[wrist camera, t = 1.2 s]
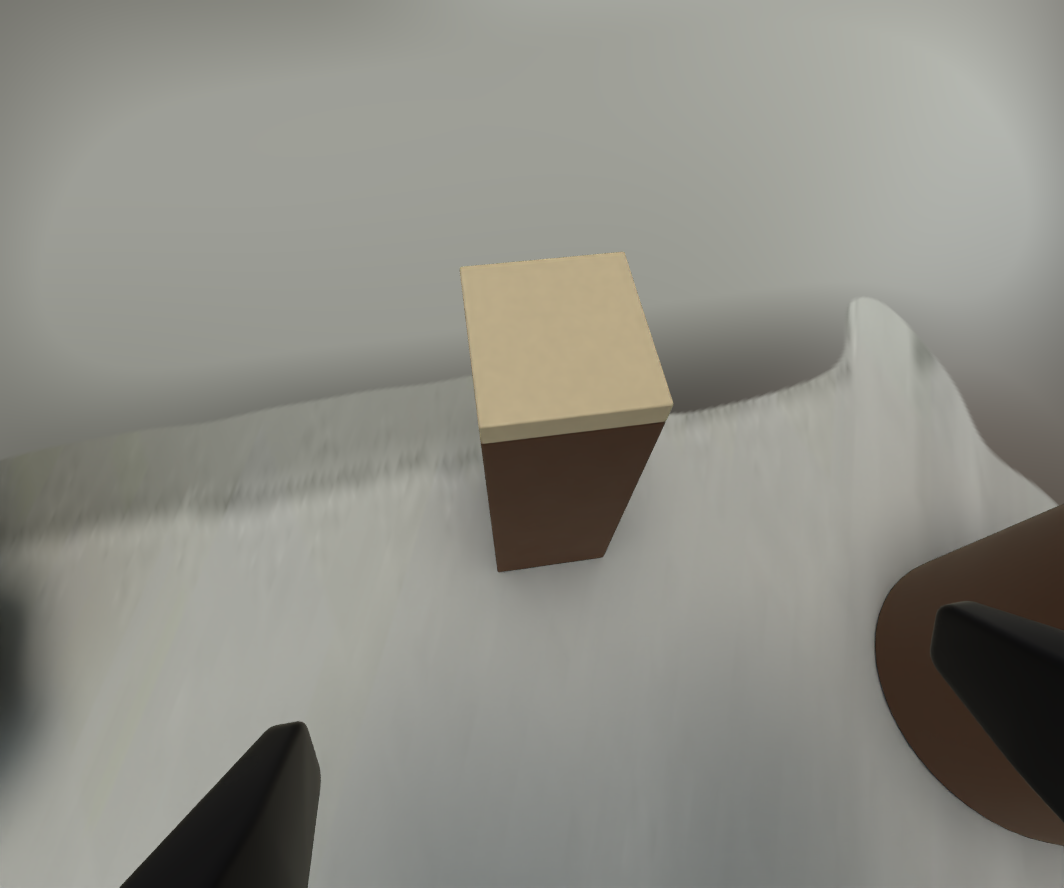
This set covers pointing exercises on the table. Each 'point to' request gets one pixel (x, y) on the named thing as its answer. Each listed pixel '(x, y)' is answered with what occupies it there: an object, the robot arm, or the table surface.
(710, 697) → the table surface
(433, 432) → the table surface
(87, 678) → the table surface
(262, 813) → the robot arm
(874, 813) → the table surface
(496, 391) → the tan and brown block
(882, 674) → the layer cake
